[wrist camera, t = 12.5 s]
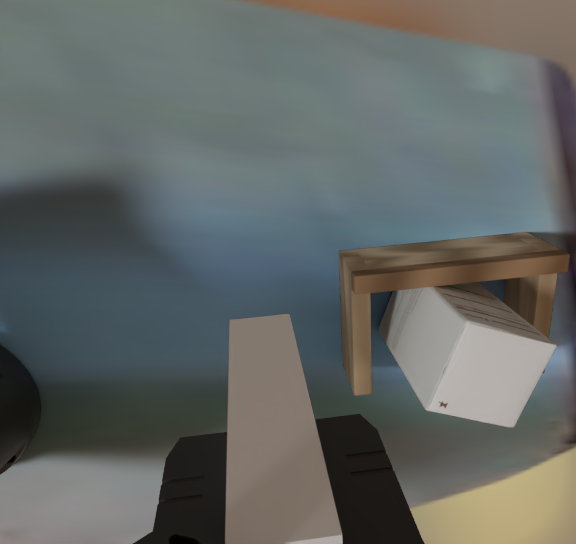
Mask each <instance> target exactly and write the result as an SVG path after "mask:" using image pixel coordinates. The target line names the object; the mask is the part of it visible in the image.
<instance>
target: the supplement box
mask: <svg viewBox="0 0 576 544" xmlns="http://www.w3.org/2000/svg"><path fill="white" fill-rule="evenodd" d="M378 331H379V333H380V335H381V336H382V338H383V340H384V341H385V343H386V345H387V346H388V348H389V350H390V351H391V353H392V355H393V356H394V358H395V360H396V361H397V363H398V365H399V366H400V368H401V370H402V371H403V373H404V375H405V376H406V378H407V380H408V381H409V383H410V385H411V386H412V388H413V390H414V392H415V393H416V395H417V396H418V398H419V400H420V402H421V403H422V405H423V407H424V408H425V410H426V411H431V412H437V413H442V414H447V415H451V416H456V417H461V418H466V419H471V420H476V421H480V422H485V423H490V424H495V425H500V426H505V427H511V428H513V427H514V426H515V424H516V422H517V421H518V419H519V417H520V415H521V413H522V411H523V409H524V407H525V405H526V403H527V401H528V399H529V397H530V396H531V394H532V392H533V390H534V388H535V386H536V384H537V382H538V380H539V379H540V377H541V375H542V373H543V371H544V369H545V367H546V365H547V363H548V362H549V360H550V358H551V356H552V354H553V352H554V350H555V349H556V347H557V345H556V344H555V343H554V342H552V341H551V340H550V339H549V338H547V337H546V336H545V335H543V334H542V333H541V332H540V331H538V330H537V329H536V328H535V327H533V326H532V325H531V324H530V323H528V322H527V321H526V320H525V319H523V318H522V317H521V316H519V315H518V314H517V313H515V312H514V311H513V310H512V309H511V308H509V307H508V306H507V305H506V304H504V303H503V302H502V301H501V300H500V299H498V298H497V297H496V296H495V295H493V294H492V293H491V292H490V291H488V290H487V289H486V288H485V287H484V286H482V285H481V284H480V283H479V282H472V283H463V284H453V285H444V286H434V287H425V288H416V289H406V290H397V291H393V292H392V295H391V297H390V300H389V303H388V305H387V308H386V310H385V313H384V315H383V318H382V320H381V323H380V325H379V328H378Z"/></svg>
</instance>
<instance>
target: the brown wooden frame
mask: <svg viewBox="0 0 576 544" xmlns="http://www.w3.org/2000/svg"><path fill="white" fill-rule="evenodd" d="M569 258H570V254H568V253H566V252H565V251H563V250H561V249H559V248H557V247H555V246H553V245H551V244H549V243H547V242H545V241H543V240H541V239H539V238H537V237H535V236H533V235H531V234H529V233H527V232H523V233H513V234H503V235H493V236H483V237H473V238H463V239H453V240H443V241H433V242H423V243H413V244H403V245H393V246H383V247H374V248H364V249H354V250H344V251H339V274H340V302H341V329H342V356H343V367H344V370H345V372H346V375H347V377H348V380H349V383H350V385H351V388H352V390H353V393H354V396H358V395H366V394H372V377H371V298H370V293H378V292H388V291H397V290H406V289H416V288H425V287H434V286H444V285H453V284H463V283H472V282H481V281H491V280H500V279H506V285H505V296H504V304H506V305H507V306H508V307H509V308H511V309H512V310H513V311H514V312H515V313H517V314H518V315H519V316H521V317H522V318H523V319H525V320H526V321H527V322H528V323H530V324H531V325H532V326H533V327H535V328H536V329H537V330H538V331H540V332H541V333H542V334H543V335H545V336H546V337H547V338H549V333H550V326H551V318H552V311H553V303H554V296H555V288H556V281H557V273H565V272H568V265H569ZM544 371H545V369H544ZM544 371H543V373H544Z"/></svg>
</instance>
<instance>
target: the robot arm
mask: <svg viewBox="0 0 576 544" xmlns="http://www.w3.org/2000/svg"><path fill="white" fill-rule="evenodd" d="M40 413H41V406H40V398H39V394H38V390H37V388H36V385H35V383H34V381H33V379H32V377H31V376H30V374H29V372H28V371H27V370H26V368H25V367H24V366H23V365H22V364H21V362H20V361H19V360H18V359H17V358H16V357H15V356H13V355H12V354H11V353H10V352H9V351H7V350H6V349H5V348H3V347H2V346H0V474H2V473H3V472H5V471H6V470H7V469H8V468H10V467H11V466H12V465H13V464H14V463H15V462H16V461H17V460H18V459H19V458H20V456H21V455H22V454H23V452H24V451H25V449H26V448H27V446H28V444H29V442H30V441H31V439H32V437H33V435H34V434H35V432H36V429H37V427H38V424H39V420H40ZM133 544H424V542H423V540H422V538H421V535H420V533H419V531H418V528H417V526H416V524H415V521H414V518H413V516H412V514H411V511H410V509H409V506H408V504H407V501H406V499H405V497H404V494H403V492H402V489H401V487H400V484H399V482H398V480H397V477H396V475H395V472H394V471H393V469H392V465H391V463H390V460H389V458H388V455H387V454H386V452H385V448H384V446H383V443H382V441H381V438H380V436H379V433H378V431H377V429H376V428H374V427H373V426H372V425H371V424H370V423H369V422H368V421H367V420H366V419H365V418H363V417H362V416H361V415H360V414H357V415H348V416H340V417H332V418H324V419H316V420H315V418H314V414H313V410H312V406H311V402H310V397H309V393H308V389H307V385H306V381H305V376H304V372H303V368H302V364H301V360H300V356H299V351H298V347H297V343H296V339H295V335H294V330H293V326H292V322H291V318H290V314H281V315H271V316H262V317H253V318H243V319H234V320H230V325H229V374H228V423H227V432H224V433H215V434H207V435H199V436H191V437H183V438H180V439H179V441H178V442H177V443H176V445H175V446H174V448H173V449H172V451H171V452H170V453H169V455H168V456H167V458H166V462H165V468H164V473H163V479H162V485H161V490H160V495H159V504H158V506H157V512H156V517H155V523H154V528H153V532H151V533H149V534H148V535H146V536H145V537H143V538H141V539H140V540H138V541H137V542H135V543H133Z"/></svg>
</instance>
